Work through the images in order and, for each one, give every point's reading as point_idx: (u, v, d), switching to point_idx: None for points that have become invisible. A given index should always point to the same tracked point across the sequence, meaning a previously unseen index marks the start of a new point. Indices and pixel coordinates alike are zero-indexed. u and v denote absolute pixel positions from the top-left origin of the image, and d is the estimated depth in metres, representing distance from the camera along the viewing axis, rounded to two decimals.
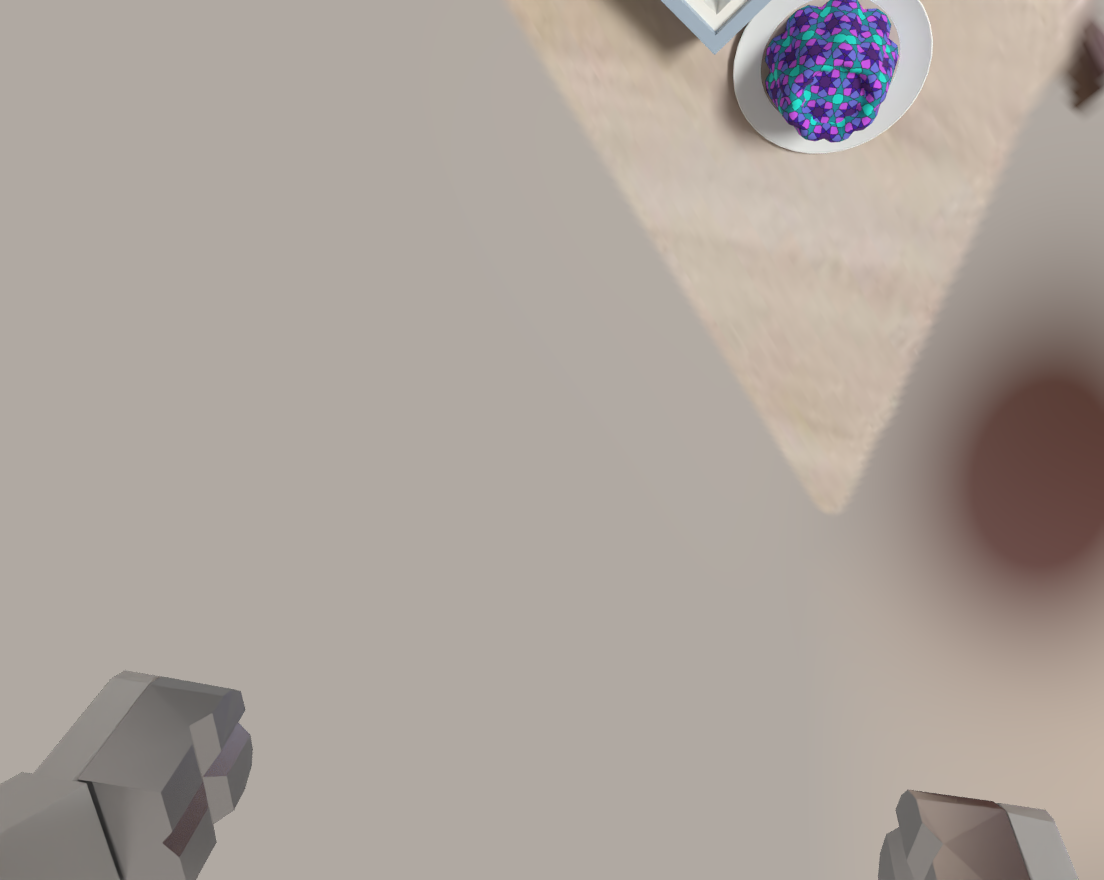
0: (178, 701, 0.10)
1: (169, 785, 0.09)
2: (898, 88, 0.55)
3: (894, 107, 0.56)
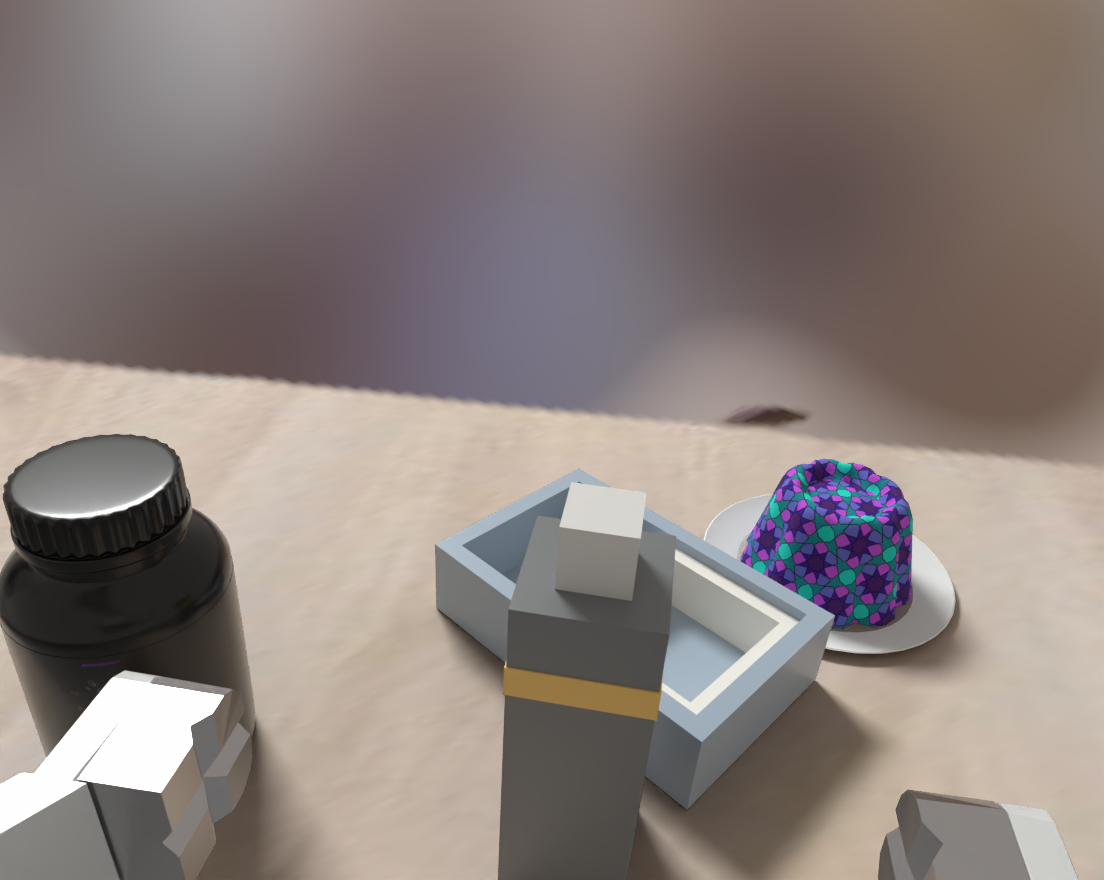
0: (178, 701, 0.10)
1: (169, 785, 0.09)
2: None
3: None
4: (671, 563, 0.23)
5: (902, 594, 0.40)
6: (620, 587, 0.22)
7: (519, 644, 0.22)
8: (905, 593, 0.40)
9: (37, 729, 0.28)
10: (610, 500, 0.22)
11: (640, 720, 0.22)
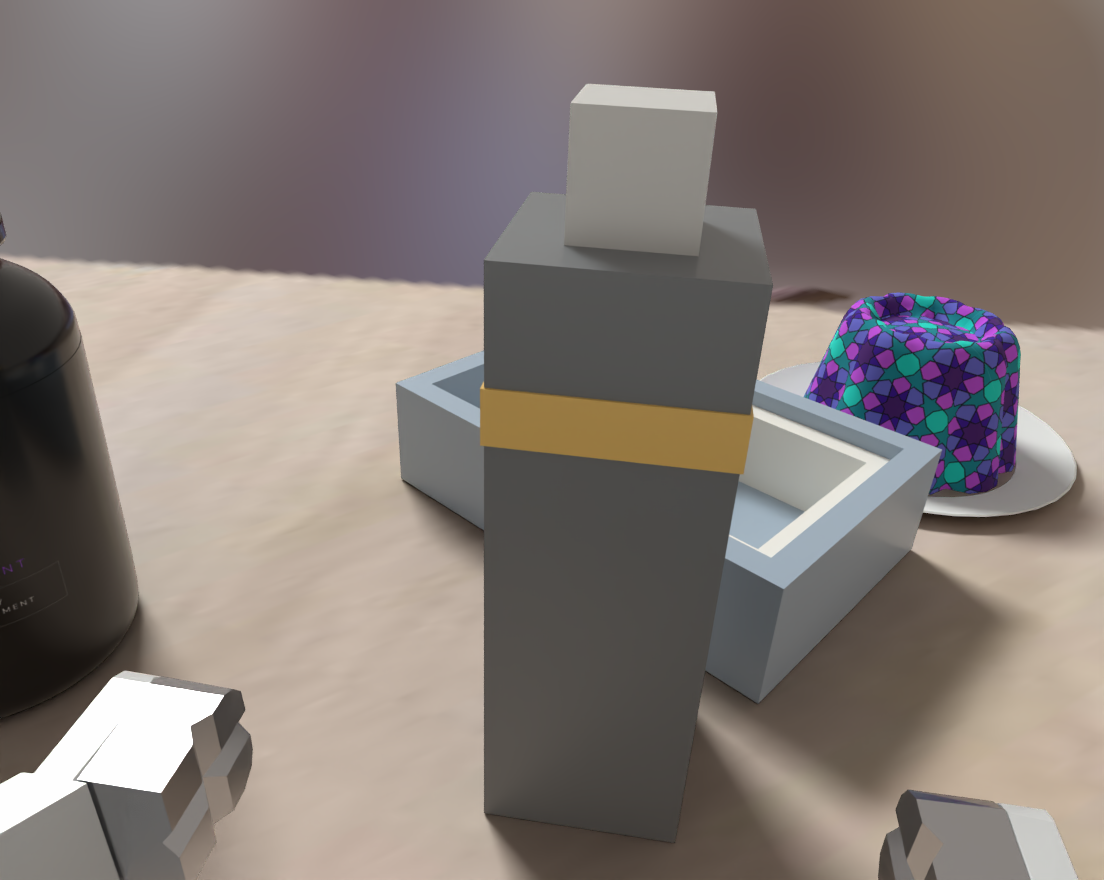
0: (178, 701, 0.10)
1: (169, 785, 0.09)
2: None
3: None
4: (755, 228, 0.14)
5: (1006, 456, 0.31)
6: (678, 228, 0.12)
7: (505, 336, 0.13)
8: (1010, 456, 0.31)
9: None
10: (655, 93, 0.13)
11: (715, 477, 0.13)
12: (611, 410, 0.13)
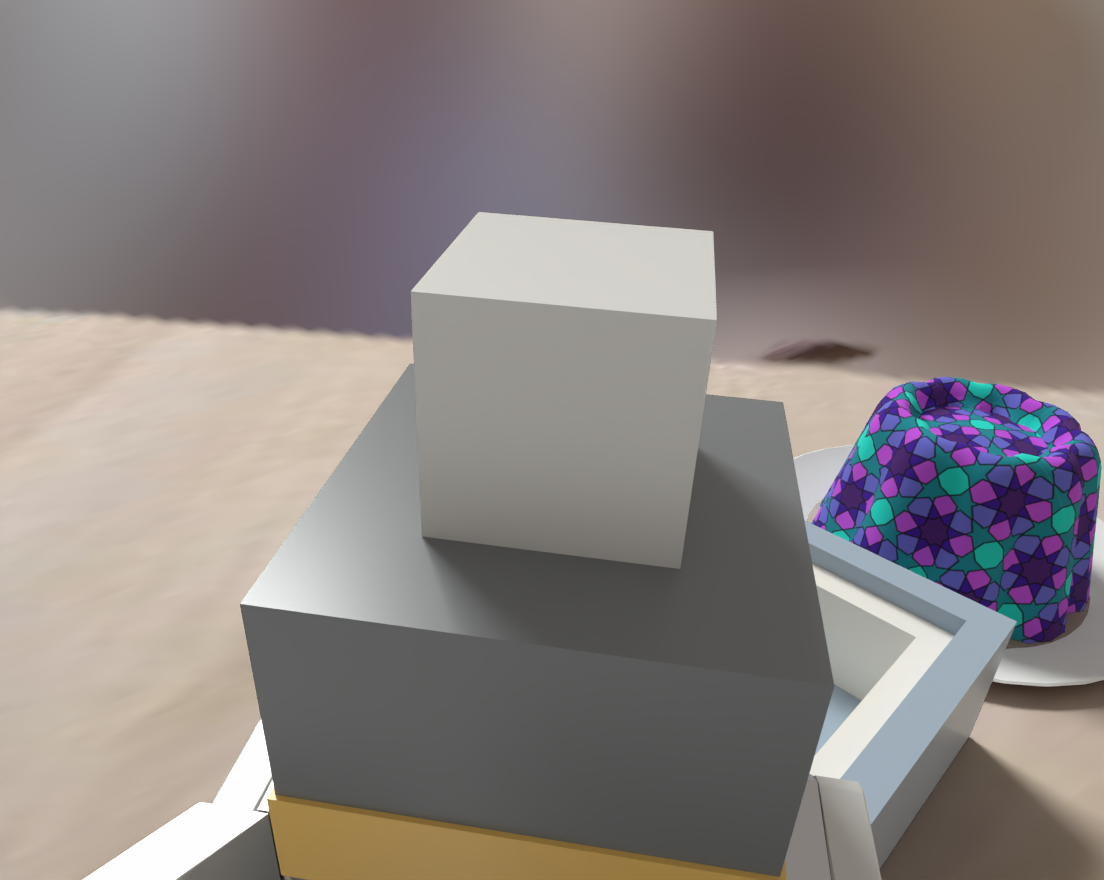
0: None
1: None
2: None
3: None
4: (785, 463, 0.08)
5: (1077, 593, 0.25)
6: (640, 521, 0.06)
7: (302, 725, 0.06)
8: (1082, 592, 0.25)
9: None
10: (600, 243, 0.07)
11: None
12: (513, 849, 0.07)
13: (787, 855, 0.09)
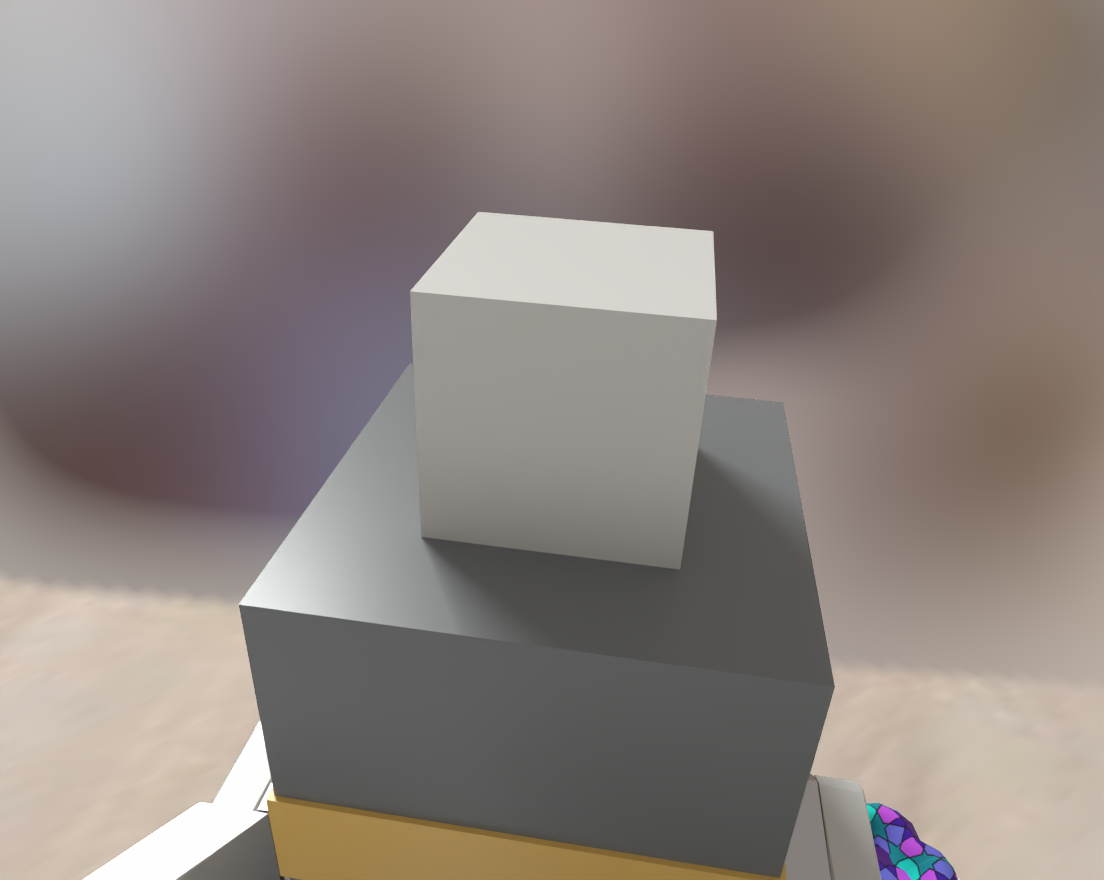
0: None
1: None
2: None
3: None
4: (785, 464, 0.08)
5: None
6: (640, 522, 0.06)
7: (301, 726, 0.06)
8: None
9: None
10: (600, 242, 0.07)
11: None
12: (513, 850, 0.07)
13: (787, 855, 0.09)
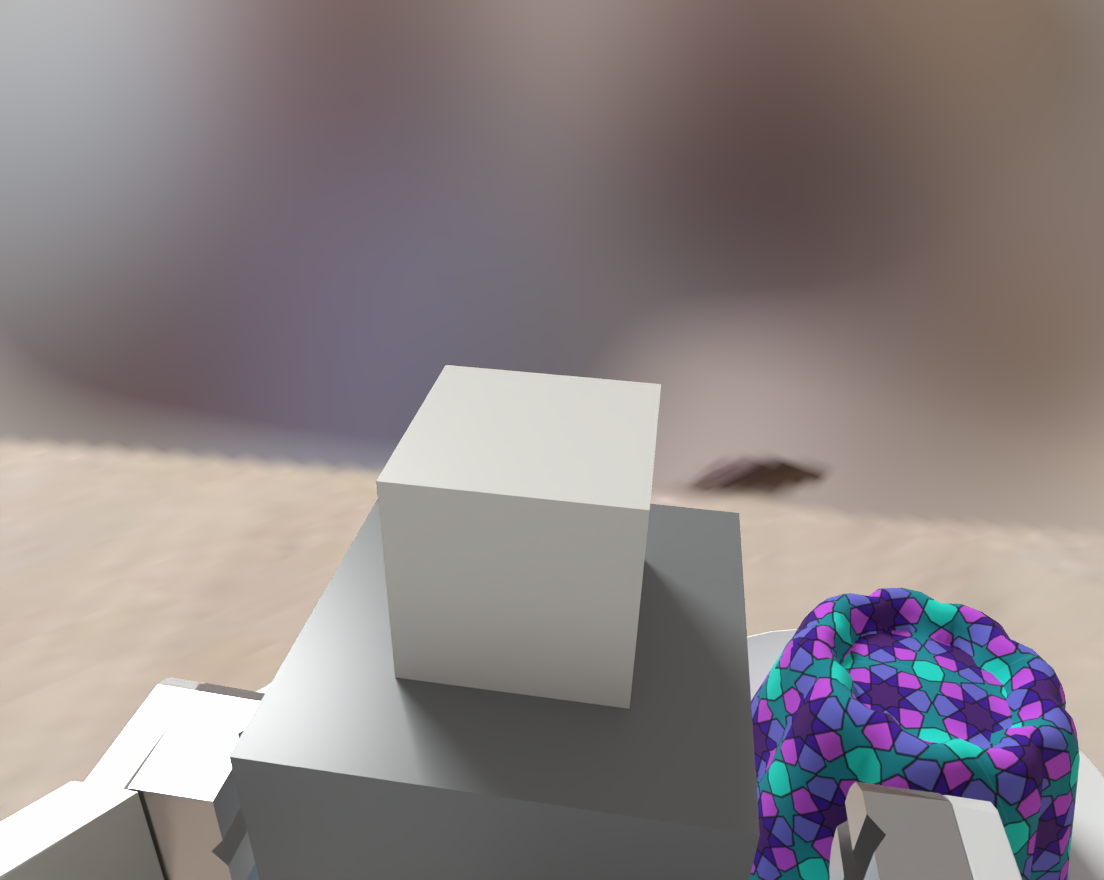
0: (224, 708, 0.10)
1: (220, 794, 0.09)
2: None
3: None
4: (735, 585, 0.08)
5: None
6: (591, 669, 0.07)
7: (288, 853, 0.07)
8: None
9: None
10: (555, 406, 0.07)
11: None
12: None
13: None
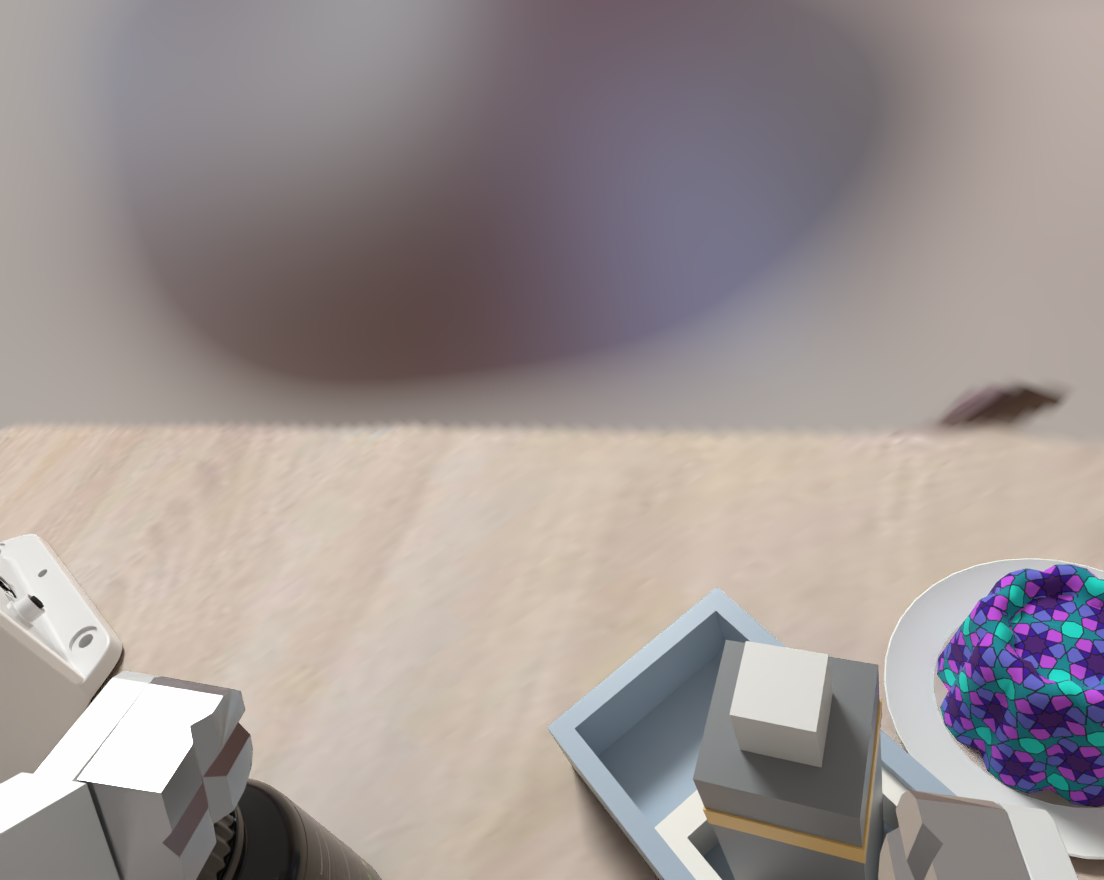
0: (178, 701, 0.10)
1: (169, 785, 0.09)
2: None
3: None
4: (869, 709, 0.22)
5: None
6: (806, 758, 0.21)
7: (711, 798, 0.22)
8: None
9: None
10: (787, 669, 0.21)
11: (848, 859, 0.22)
12: (779, 830, 0.22)
13: None
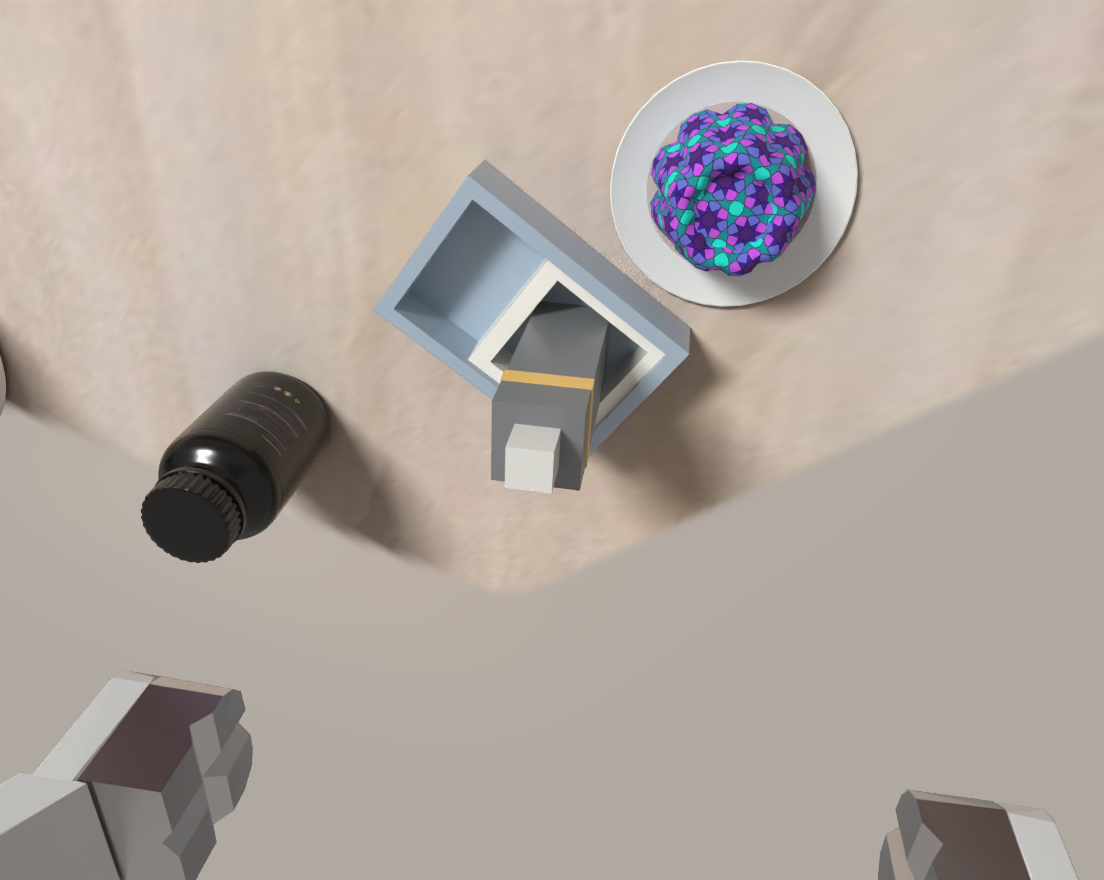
0: (178, 701, 0.10)
1: (169, 785, 0.09)
2: (795, 107, 0.40)
3: (820, 115, 0.40)
4: (581, 436, 0.36)
5: None
6: None
7: None
8: None
9: None
10: (532, 462, 0.35)
11: None
12: None
13: None
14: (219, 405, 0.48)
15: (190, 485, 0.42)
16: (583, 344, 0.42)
